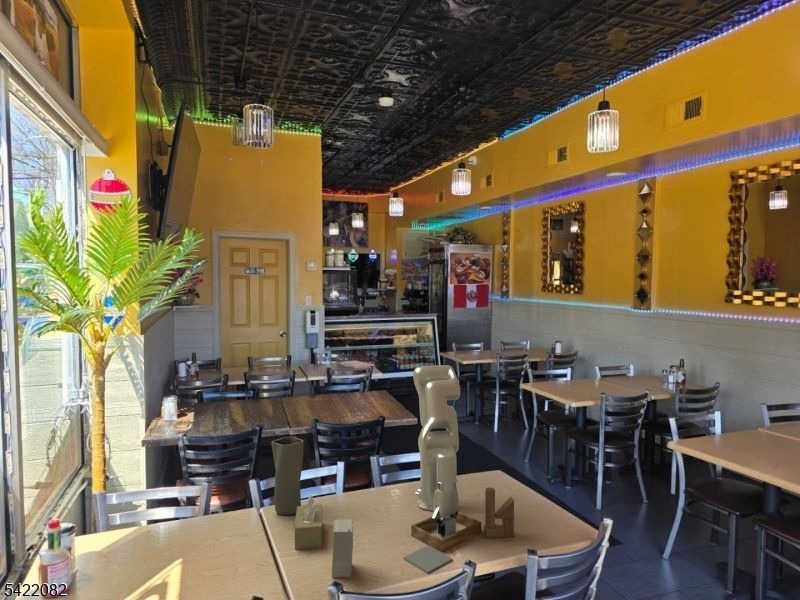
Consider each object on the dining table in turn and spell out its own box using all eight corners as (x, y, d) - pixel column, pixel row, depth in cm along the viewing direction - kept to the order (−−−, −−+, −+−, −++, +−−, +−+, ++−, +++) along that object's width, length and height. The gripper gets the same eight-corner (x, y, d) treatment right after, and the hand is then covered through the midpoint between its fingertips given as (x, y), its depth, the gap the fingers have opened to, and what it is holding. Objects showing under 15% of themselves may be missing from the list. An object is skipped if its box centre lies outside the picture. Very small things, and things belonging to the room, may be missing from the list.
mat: (403, 558, 177) (403, 557, 177) (427, 546, 185) (427, 545, 185) (427, 573, 168) (427, 571, 168) (452, 560, 176) (452, 558, 176)
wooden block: (514, 536, 192) (514, 489, 191) (486, 538, 191) (486, 491, 190) (511, 532, 195) (511, 486, 195) (483, 533, 194) (483, 487, 194)
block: (437, 533, 194) (437, 518, 194) (446, 529, 198) (446, 514, 197) (446, 538, 191) (446, 523, 190) (455, 534, 194) (455, 518, 194)
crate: (411, 535, 193) (411, 525, 193) (450, 517, 207) (450, 508, 207) (441, 552, 181) (441, 541, 181) (481, 532, 196) (481, 521, 195)
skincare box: (332, 564, 173) (332, 519, 173) (353, 563, 174) (353, 518, 173) (331, 579, 165) (330, 531, 164) (353, 577, 166) (353, 530, 165)
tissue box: (322, 548, 185) (321, 505, 184) (294, 550, 183) (294, 507, 183) (322, 524, 203) (321, 484, 203) (297, 525, 202) (296, 486, 201)
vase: (309, 511, 214) (308, 441, 213) (282, 520, 206) (281, 447, 205) (294, 502, 223) (294, 434, 222) (268, 510, 215) (267, 440, 214)
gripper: (454, 476, 202) (454, 521, 203) (423, 488, 191) (423, 535, 191) (468, 482, 196) (468, 528, 197) (438, 494, 185) (438, 543, 186)
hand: (446, 531), depth 194 cm, fingers closed on block, 5 cm apart
